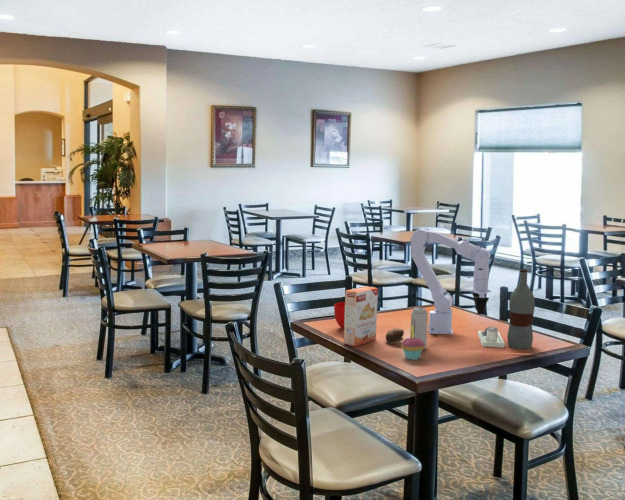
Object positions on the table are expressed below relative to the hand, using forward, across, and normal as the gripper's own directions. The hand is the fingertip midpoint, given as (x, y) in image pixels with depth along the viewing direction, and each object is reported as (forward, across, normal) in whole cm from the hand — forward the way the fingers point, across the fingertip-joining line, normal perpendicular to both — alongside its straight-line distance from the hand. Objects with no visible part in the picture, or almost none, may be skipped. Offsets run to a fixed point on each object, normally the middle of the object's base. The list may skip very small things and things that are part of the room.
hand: (479, 312), depth 261 cm
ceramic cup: (+10, +3, +51) cm, 52 cm away
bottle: (+10, -14, -14) cm, 22 cm away
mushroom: (+10, -17, +33) cm, 38 cm away
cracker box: (+10, -19, +46) cm, 51 cm away
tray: (+10, -8, -4) cm, 14 cm away
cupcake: (+10, -36, +26) cm, 46 cm away
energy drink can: (+10, -23, +24) cm, 35 cm away
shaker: (+9, -12, -4) cm, 16 cm away
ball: (+9, -3, -4) cm, 11 cm away
